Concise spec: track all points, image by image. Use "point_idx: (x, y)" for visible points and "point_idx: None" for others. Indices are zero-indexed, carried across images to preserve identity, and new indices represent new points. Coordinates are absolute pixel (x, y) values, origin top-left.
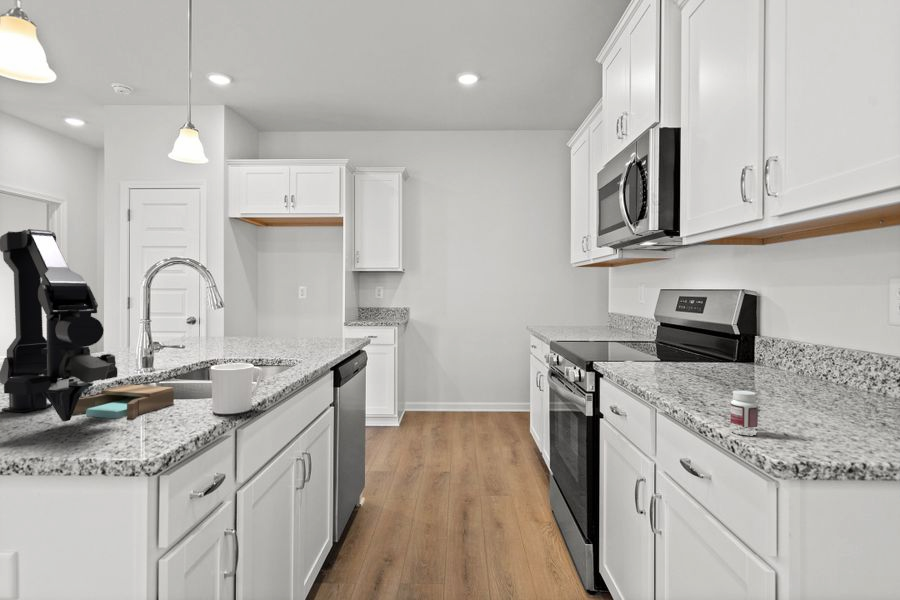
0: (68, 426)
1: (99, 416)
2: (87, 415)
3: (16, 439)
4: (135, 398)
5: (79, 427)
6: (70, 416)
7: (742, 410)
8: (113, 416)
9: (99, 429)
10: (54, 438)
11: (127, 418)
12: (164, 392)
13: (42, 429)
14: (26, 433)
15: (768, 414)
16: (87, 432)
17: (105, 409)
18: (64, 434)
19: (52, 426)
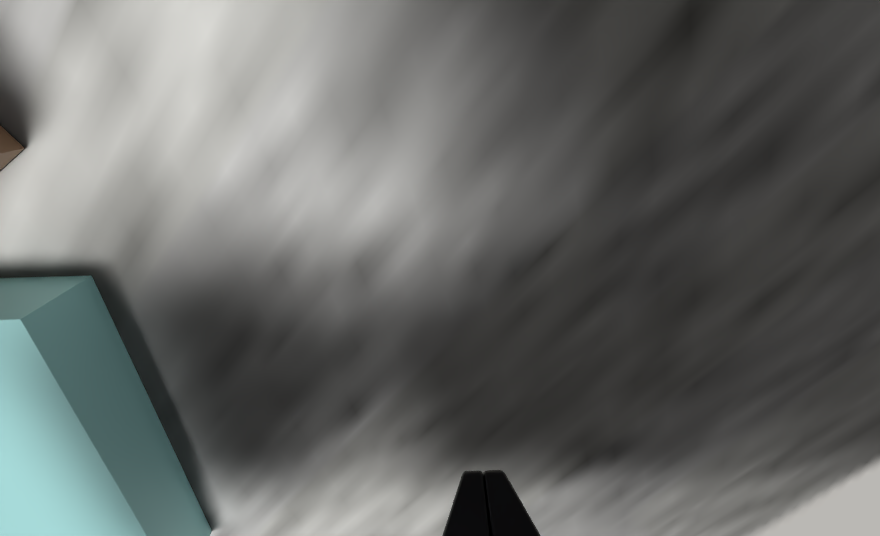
0: (466, 428)
1: (167, 449)
2: (205, 530)
3: (832, 452)
4: None
5: (466, 334)
6: (469, 500)
7: None
8: (96, 331)
9: (473, 62)
10: (844, 224)
11: (10, 144)
12: None
13: (575, 503)
14: (678, 507)
15: None
16: (614, 88)
17: (74, 486)
18: (701, 258)
19: None
